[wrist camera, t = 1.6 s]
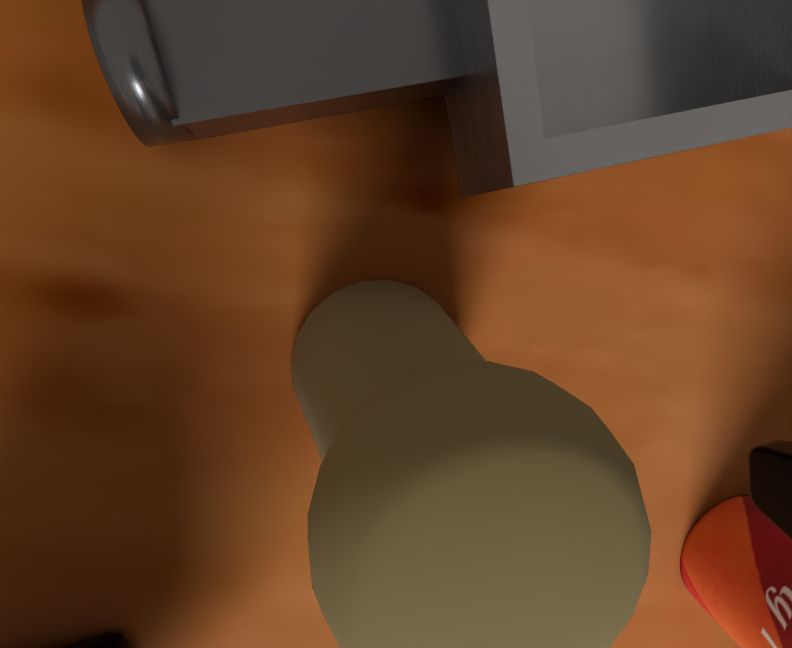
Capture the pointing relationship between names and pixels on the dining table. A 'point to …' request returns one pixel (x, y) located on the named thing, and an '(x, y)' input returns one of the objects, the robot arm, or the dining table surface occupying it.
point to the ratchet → (459, 73)
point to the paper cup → (741, 573)
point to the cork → (458, 488)
